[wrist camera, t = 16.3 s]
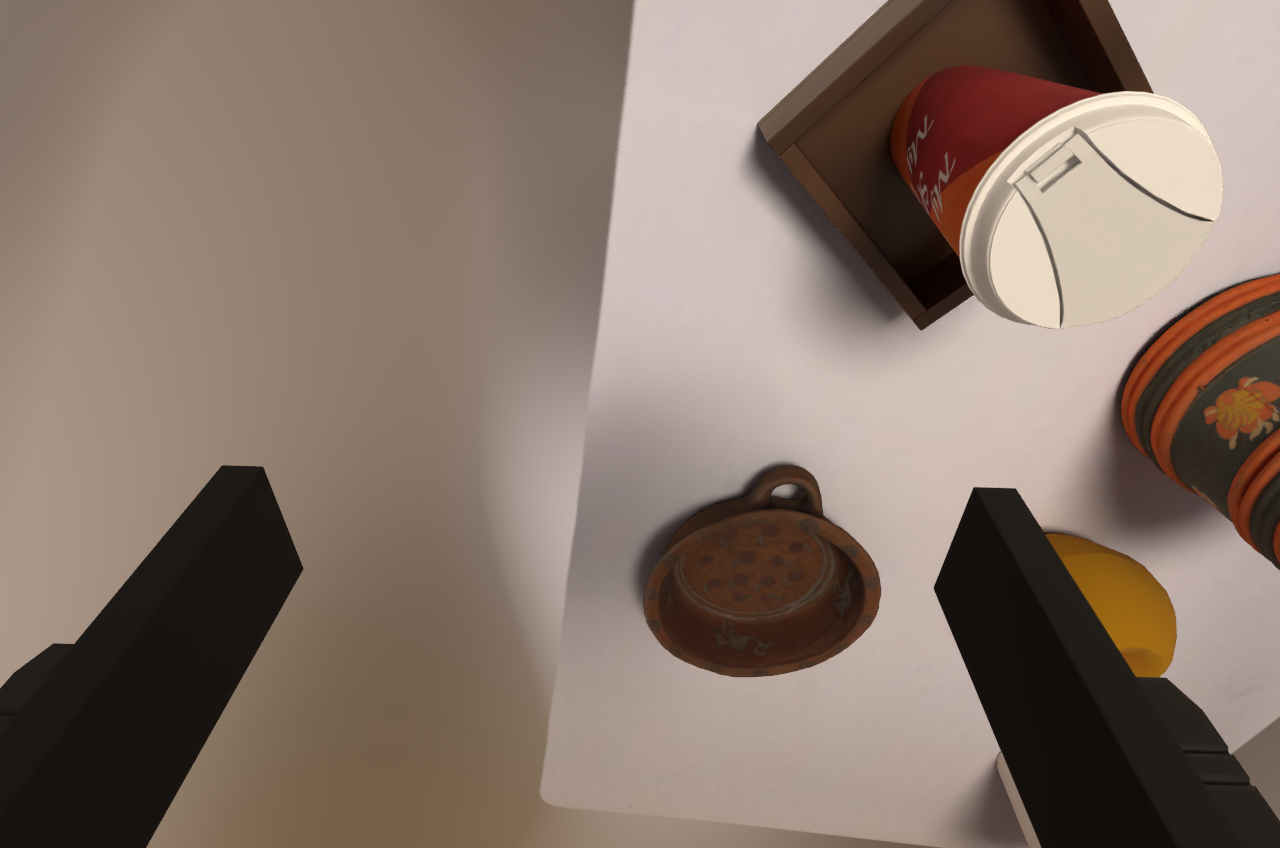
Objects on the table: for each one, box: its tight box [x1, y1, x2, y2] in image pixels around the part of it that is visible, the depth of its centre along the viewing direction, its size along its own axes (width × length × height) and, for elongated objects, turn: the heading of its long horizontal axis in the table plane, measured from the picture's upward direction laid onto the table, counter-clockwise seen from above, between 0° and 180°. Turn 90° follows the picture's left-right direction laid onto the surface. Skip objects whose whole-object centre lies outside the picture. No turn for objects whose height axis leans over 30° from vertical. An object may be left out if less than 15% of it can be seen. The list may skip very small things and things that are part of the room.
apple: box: [1045, 533, 1177, 678], centre depth 48 cm, size 10×10×12 cm
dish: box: [643, 466, 881, 677], centre depth 52 cm, size 18×22×5 cm
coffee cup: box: [891, 65, 1223, 329], centre depth 29 cm, size 8×8×15 cm
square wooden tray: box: [758, 0, 1154, 330], centre depth 34 cm, size 14×14×4 cm
